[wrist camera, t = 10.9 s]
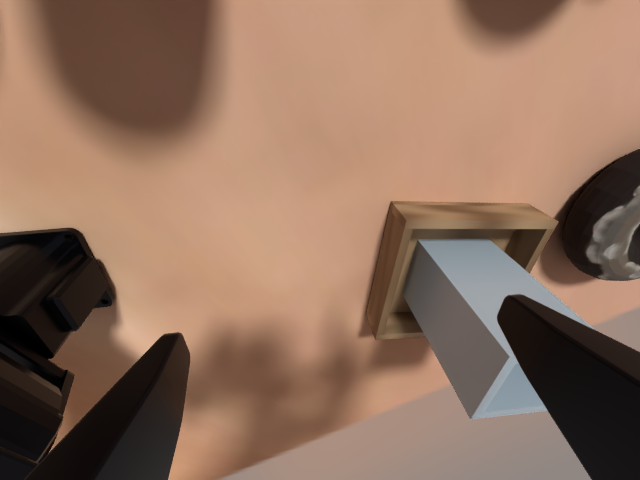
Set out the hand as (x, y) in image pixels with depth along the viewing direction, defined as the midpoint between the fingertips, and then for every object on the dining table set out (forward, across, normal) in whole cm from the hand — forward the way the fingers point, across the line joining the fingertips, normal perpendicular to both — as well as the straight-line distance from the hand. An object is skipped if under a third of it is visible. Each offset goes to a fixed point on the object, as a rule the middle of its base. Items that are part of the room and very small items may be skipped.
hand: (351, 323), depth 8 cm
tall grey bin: (+13, -11, +9) cm, 19 cm away
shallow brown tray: (+13, -11, +9) cm, 19 cm away
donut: (+14, -26, +5) cm, 30 cm away
